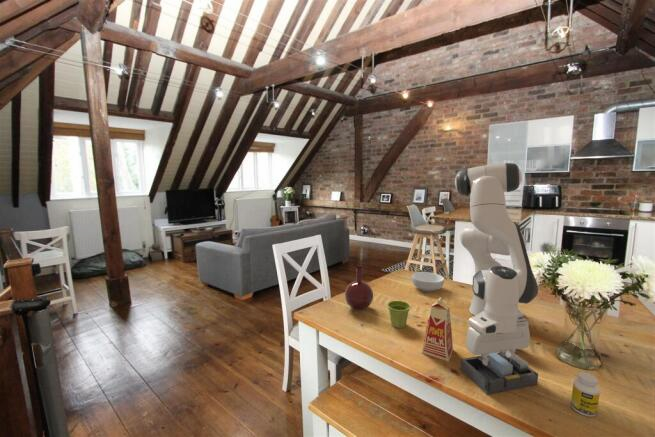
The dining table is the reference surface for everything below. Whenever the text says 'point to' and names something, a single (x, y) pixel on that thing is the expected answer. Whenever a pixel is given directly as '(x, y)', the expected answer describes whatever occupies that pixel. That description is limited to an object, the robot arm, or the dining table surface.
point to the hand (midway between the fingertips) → (496, 362)
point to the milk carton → (438, 332)
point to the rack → (493, 380)
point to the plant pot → (398, 313)
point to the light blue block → (500, 364)
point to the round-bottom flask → (359, 292)
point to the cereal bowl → (427, 281)
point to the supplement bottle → (585, 394)
